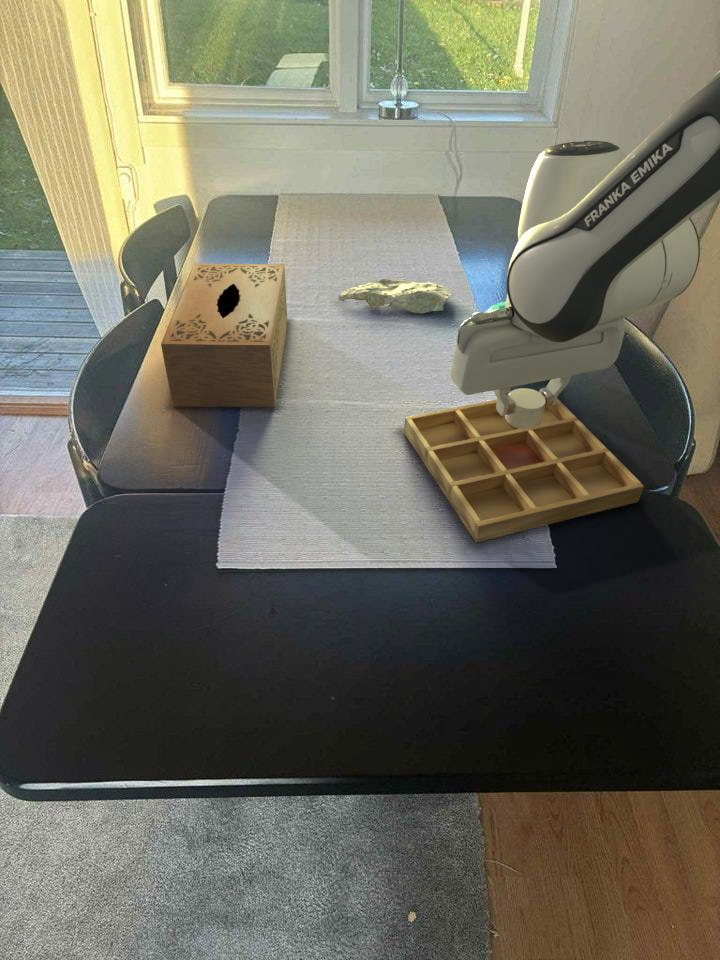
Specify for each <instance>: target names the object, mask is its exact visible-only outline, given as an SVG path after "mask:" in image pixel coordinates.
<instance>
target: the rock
mask: <svg viewBox="0 0 720 960" xmlns="http://www.w3.org/2000/svg"><path fill="white" fill-rule="evenodd" d="M450 295H451V296H452V292H451V291H450V290H449V289H447V288H446V287H444V286H443V285H441V284H436V283H432V282H413V281H407V280H404V279H403V280H402V279H399V280H398V279H392V278H387V277H386V278H383V279H380V280H376V281H370V282H368V283H363V284H360V285H356V286H353V287H351V288H348V289H345V290H344V291H342V292H341V293H339V295H338V301H339V302H344V301H347V300H355V301H365V302H366V303H367V304H368V306H369V308H373V307H375V308H378V307H384V305H388V308H390V309H393V310H394V309H401V310H405V311H408V312H411V313H413V314H416V313H418V314H425V313H431V312H439V311H444V304H446V301H447V299H448V298H449V296H450Z"/></svg>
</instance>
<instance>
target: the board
mask: <svg viewBox="0 0 720 960" xmlns="http://www.w3.org/2000/svg"><path fill="white" fill-rule="evenodd" d="M537 391H538V390H537ZM538 392H540V390H539V391H538ZM496 404H497V399H491V400H486V401H481V402H477V403H472V404H467V405H466V404H465V405H461V406H456V407H451V408H445V409H441V410H435V411H430V412H424V413H419V414H414V415H408V416H405V417H404V426H403V434H404V436H405V437H406V438H407V439H408V441H409V443H410V444H411V446H412V448H413V449H414V450H415V452H416V454H417V455H418V456H419V458H420V460H421V461H422V463H423V464H424V466H425V467H426V469H427V470H428V472H429V473H430V475H431V477H432V478H433V479H434V481H435V483H436V484H437V485H438V487H439V489H440V490H441V492H442V493H443V495H444V496H445V497H446V499H447V501H448V502H449V504H450V506H451V507H452V508H453V510H454V512H455V514H457V516H458V518H459V519H460V521H461V522H462V523H463V525H464V527H465V528H466V530H467V531H468V534H470V536H471V537H472V539H473V540H474V542H475V543H480V542H484V541H488V540H493V539H497V538H499V537H503V536H509V535H511V534H517V533H520V532H523V531H528V530H531V529H537V528H540V527H545V526H547V525H552V524H556V523H561V522H564V521H568V520H571V519H577V518H580V517H584V516H588V515H593V514H596V513H600V512H603V511H608V510H612V509H616V508H619V507H625V506H628V505H632V504H636V503H639V501H640V498H641V496H642V493H643V490H644V488H645V485H644V484H642V483H641V481H640V480H639V479H638V478H637V477H636V476H635V475H634V474H633V473H632V472H631V471H630V470H629V469H628V468H627V467H626V466H625V465H624V464H623V462H621V461H620V460H619V459H618V458H617V457H616V456H615V455H614V454H613V453H612V452H611V451H610V449H608V448H607V447H606V446H605V445H604V444H603V443H602V442H601V441H600V440H599V439H598V438H597V436H595V434H593V433H592V432H591V431H590V430H589V429H588V428H587V427H586V425H584V423H582V421H580V419H578V417H577V416H575V415H574V414H573V412H572V411H571V410H569V408H567V406H566V405H565V404H564V403H563V402H562V401H561V400H560V399H559V398H557V402H556V405H554V406H548V407H545V408H544V412H543V416H542V421H541V424H540V425H539V426H538V427H536V428H533V429H520V428H516V427H514V426H512V425H510V424H509V423H508V422H507V421H506V419H505V415H504V416H501V415H500V414H499V413H498V411H497V409H496Z"/></svg>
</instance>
